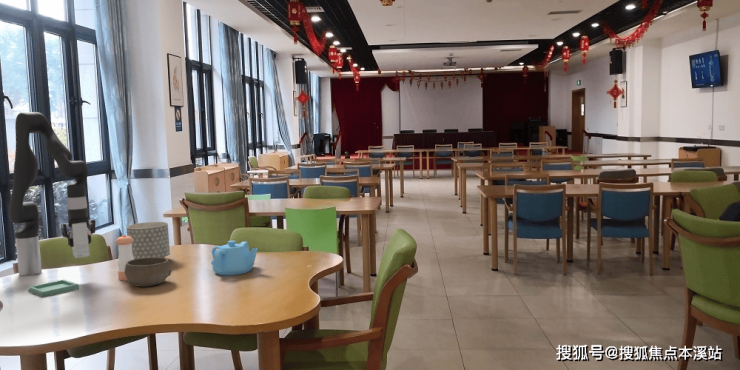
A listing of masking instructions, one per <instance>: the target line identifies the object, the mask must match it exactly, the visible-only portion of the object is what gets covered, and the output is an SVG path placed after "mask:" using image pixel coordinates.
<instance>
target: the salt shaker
mask: <svg viewBox="0 0 740 370" xmlns="http://www.w3.org/2000/svg"><path fill="white" fill-rule="evenodd" d="M115 243H116V245H117V247H118V248H117V250H118V260H117V267H118V270H117V274H118V275H117V279H118V280H120V281H128V279H127V278H126V276H125V266H126V263H127V262H128V261H130V260H134V258H133V254H132V244H131V243H133V238H132V237H130V236H127V234H123V235H121V236H119V237H117V238H116V240H115Z"/></svg>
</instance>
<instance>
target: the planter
mask: <svg viewBox="0 0 740 370" xmlns="http://www.w3.org/2000/svg"><path fill="white" fill-rule="evenodd" d="M125 228H126V229H125V230H126V236H130V237H132V238H133V243H131V244H132V254H133V258H134V259H139V258H147V257H161V258H166V257H167V256H169V255H171V253H170V252H171V251H170V236H169V235H170V233H169V223H168V222H165V221H149V222H147V221H146V222H139V223H131V224H129V225H127V226H126V227H125Z"/></svg>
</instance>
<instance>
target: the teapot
mask: <svg viewBox="0 0 740 370" xmlns="http://www.w3.org/2000/svg"><path fill="white" fill-rule="evenodd" d="M236 242H237V241H236V240H228V241H227V244H224V245H217V246H214V247H213V248H211V249H212V250H211V254H212V255H211V256H212V258H213V259H212V260H211V262H210V264H211V266H212V270H213V272H214V273H215V274H217V275H219V276H237V275H243V274H246V273H249V272H250V271H251V270H252V268H253V267H254V266H255V261H256V258H257V257H256V256H257V253H258V248H255V247H253V248H251V250H250V247H249V244H248V241H241V242H240V243H236Z"/></svg>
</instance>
